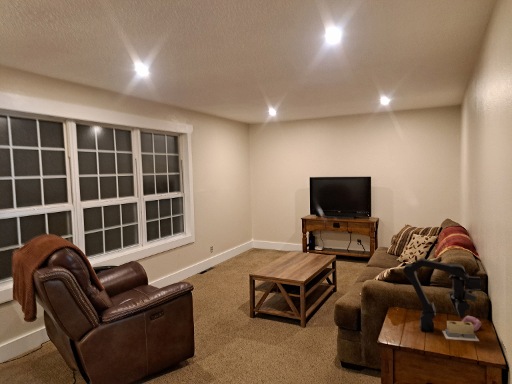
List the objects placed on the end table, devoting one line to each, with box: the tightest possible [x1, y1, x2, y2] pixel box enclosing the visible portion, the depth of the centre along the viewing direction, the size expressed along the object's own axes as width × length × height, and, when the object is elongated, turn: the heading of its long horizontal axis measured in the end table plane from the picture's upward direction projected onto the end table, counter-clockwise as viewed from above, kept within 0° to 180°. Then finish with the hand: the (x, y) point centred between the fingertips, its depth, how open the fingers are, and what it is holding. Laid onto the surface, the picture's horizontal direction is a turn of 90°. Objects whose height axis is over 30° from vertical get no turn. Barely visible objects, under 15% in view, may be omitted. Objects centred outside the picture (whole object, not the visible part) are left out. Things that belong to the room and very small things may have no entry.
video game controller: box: [460, 315, 482, 332], centre depth 202 cm, size 10×5×7 cm, turn 17°
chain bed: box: [441, 328, 480, 342], centre depth 192 cm, size 16×9×6 cm, turn 75°
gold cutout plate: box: [446, 320, 475, 335], centre depth 192 cm, size 12×4×5 cm, turn 75°
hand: (459, 314), depth 192 cm, fingers open, 9 cm apart
